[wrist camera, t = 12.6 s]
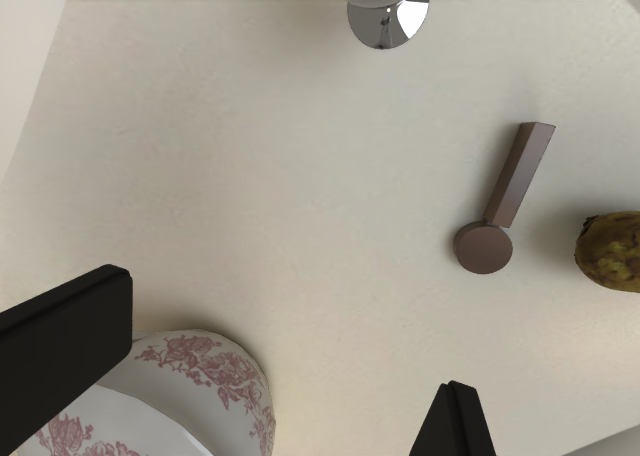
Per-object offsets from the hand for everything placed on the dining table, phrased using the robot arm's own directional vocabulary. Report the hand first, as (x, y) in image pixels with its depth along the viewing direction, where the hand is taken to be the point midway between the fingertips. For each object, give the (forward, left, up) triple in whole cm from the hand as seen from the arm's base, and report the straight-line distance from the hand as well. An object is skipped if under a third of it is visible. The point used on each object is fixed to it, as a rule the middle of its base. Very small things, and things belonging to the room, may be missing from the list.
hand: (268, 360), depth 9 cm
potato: (-2, +25, -26) cm, 36 cm away
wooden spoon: (-2, +13, -26) cm, 29 cm away
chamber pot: (+32, -14, -26) cm, 44 cm away
